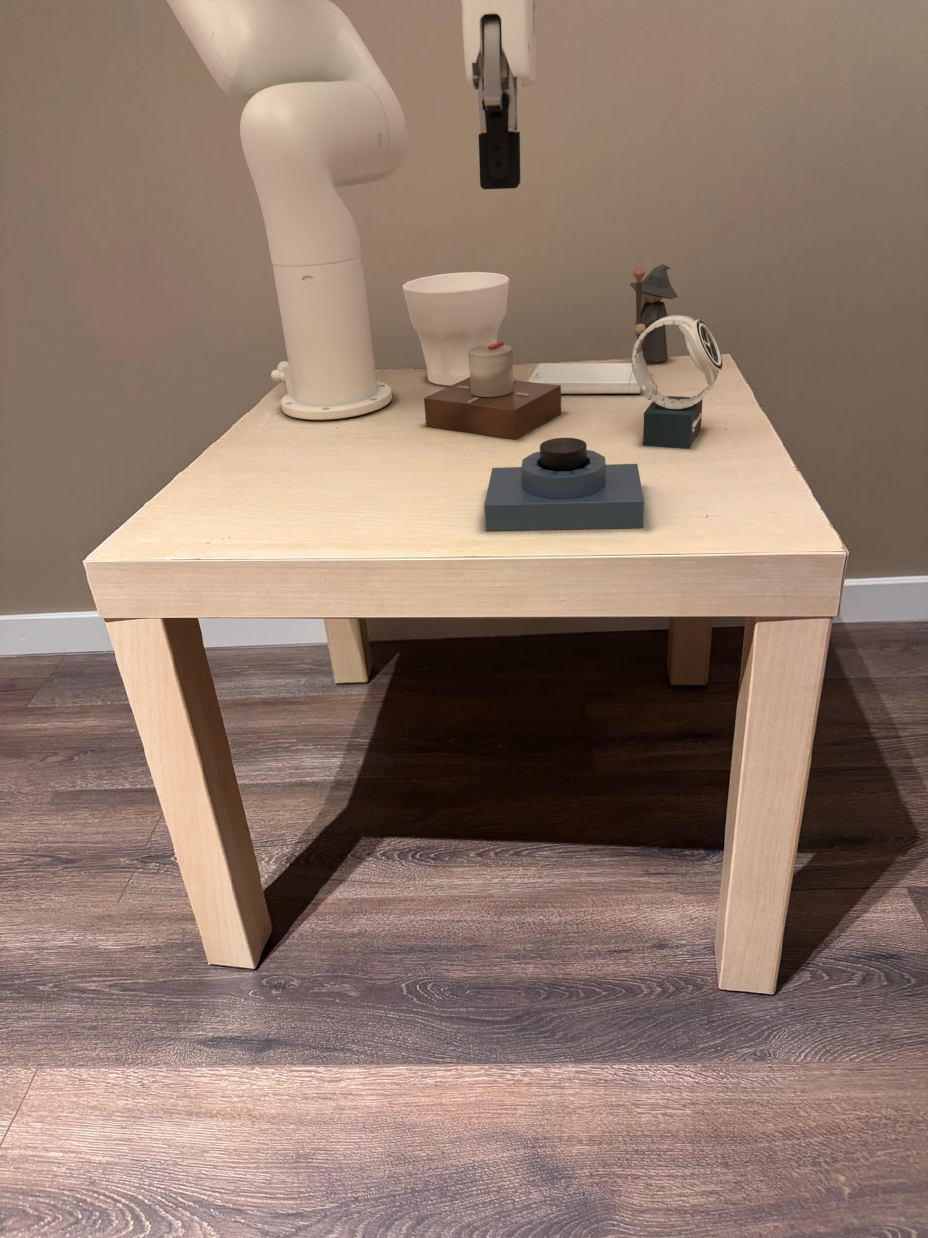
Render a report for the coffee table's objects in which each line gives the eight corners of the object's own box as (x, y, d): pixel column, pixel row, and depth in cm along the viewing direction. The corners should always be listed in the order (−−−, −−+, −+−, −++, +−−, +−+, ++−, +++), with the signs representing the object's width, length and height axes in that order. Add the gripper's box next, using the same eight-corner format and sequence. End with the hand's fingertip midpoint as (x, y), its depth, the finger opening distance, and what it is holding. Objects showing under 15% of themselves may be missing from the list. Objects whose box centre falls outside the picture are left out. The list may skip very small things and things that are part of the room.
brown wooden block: (426, 426, 94) (423, 396, 92) (474, 402, 100) (472, 373, 99) (516, 439, 88) (515, 408, 87) (561, 413, 94) (560, 383, 93)
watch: (711, 449, 82) (719, 325, 76) (624, 444, 85) (626, 323, 79) (721, 430, 86) (730, 311, 81) (638, 425, 89) (641, 310, 84)
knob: (499, 399, 90) (497, 353, 88) (462, 394, 92) (459, 350, 90) (521, 387, 93) (520, 342, 91) (485, 383, 95) (483, 339, 93)
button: (539, 475, 69) (539, 453, 69) (541, 459, 73) (540, 438, 72) (586, 474, 69) (586, 452, 68) (586, 457, 72) (586, 436, 71)
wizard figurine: (629, 355, 113) (631, 253, 107) (674, 354, 112) (679, 251, 106) (627, 373, 106) (629, 265, 100) (676, 372, 105) (681, 262, 99)
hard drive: (526, 381, 100) (640, 380, 97) (538, 362, 107) (645, 360, 104) (527, 396, 101) (640, 395, 98) (539, 376, 108) (644, 374, 105)
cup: (415, 366, 116) (406, 275, 110) (512, 360, 115) (508, 268, 109) (407, 393, 105) (396, 294, 99) (514, 387, 104) (509, 287, 99)
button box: (485, 531, 70) (482, 482, 68) (493, 492, 77) (491, 446, 75) (643, 527, 68) (644, 478, 66) (636, 488, 75) (638, 442, 73)
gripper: (541, -114, 58) (541, 196, 68) (550, -82, 71) (549, 176, 81) (427, -105, 59) (443, 200, 69) (456, -75, 72) (466, 179, 82)
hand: (500, 186), depth 75 cm, fingers closed
